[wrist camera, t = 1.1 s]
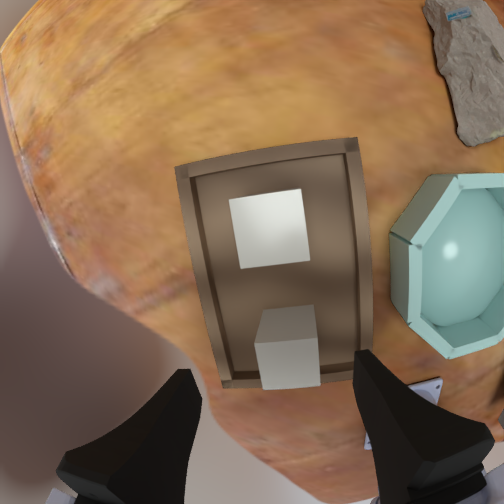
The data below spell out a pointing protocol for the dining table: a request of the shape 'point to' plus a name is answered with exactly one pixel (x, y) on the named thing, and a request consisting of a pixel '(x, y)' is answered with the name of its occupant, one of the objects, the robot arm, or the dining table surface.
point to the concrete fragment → (470, 65)
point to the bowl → (452, 262)
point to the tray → (290, 274)
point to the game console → (501, 419)
